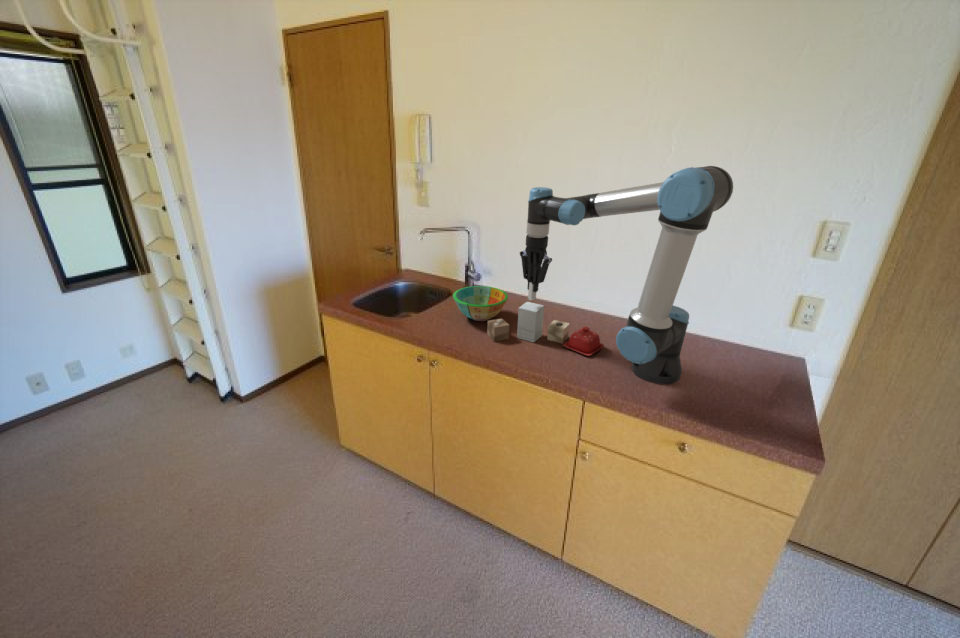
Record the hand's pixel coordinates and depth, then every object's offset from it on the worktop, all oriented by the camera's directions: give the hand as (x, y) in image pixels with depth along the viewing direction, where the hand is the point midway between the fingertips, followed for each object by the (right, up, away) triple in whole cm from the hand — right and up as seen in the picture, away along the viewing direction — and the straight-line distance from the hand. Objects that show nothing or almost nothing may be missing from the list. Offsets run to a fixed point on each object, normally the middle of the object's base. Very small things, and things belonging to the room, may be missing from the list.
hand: (531, 299), depth 153 cm
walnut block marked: (-12, -14, +6) cm, 20 cm away
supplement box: (0, -14, +7) cm, 16 cm away
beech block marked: (+10, -15, +6) cm, 19 cm away
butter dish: (+19, -18, 0) cm, 26 cm away
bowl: (-19, -7, +21) cm, 29 cm away
